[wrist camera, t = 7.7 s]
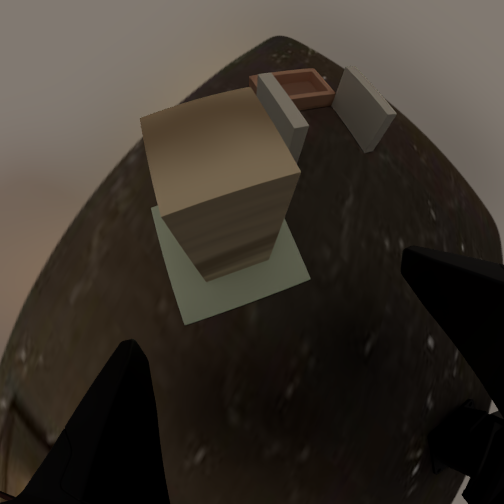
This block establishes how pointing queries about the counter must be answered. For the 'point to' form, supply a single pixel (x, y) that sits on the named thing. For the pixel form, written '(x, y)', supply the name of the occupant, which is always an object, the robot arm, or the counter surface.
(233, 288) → the green mat
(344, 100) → the channel
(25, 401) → the counter surface
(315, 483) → the counter surface
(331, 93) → the tray
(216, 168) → the beech post
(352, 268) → the counter surface
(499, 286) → the robot arm
